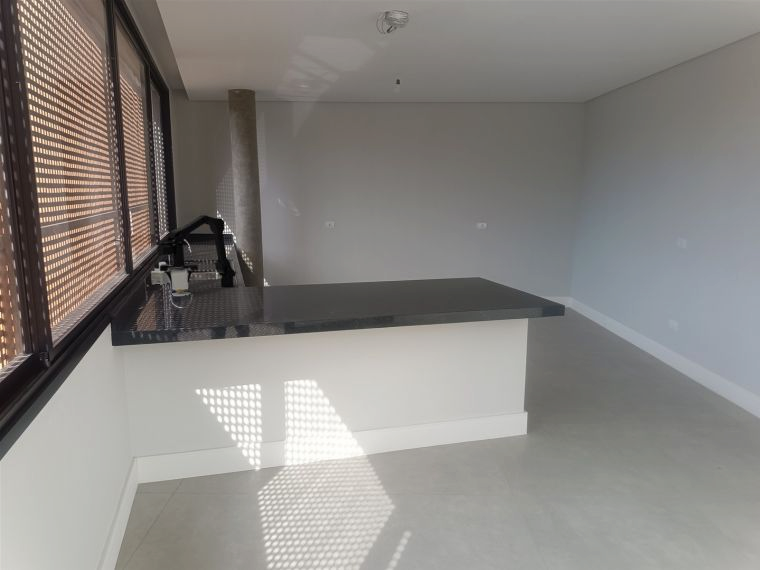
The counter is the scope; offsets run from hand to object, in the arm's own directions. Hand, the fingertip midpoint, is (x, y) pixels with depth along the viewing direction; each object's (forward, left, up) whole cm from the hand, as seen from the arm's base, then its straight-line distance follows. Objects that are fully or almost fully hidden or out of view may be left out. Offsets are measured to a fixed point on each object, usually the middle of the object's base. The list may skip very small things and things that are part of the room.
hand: (180, 283), depth 280 cm
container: (+12, -37, -6) cm, 39 cm away
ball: (0, -3, -4) cm, 5 cm away
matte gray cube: (0, -1, -2) cm, 2 cm away
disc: (0, 0, -6) cm, 6 cm away
